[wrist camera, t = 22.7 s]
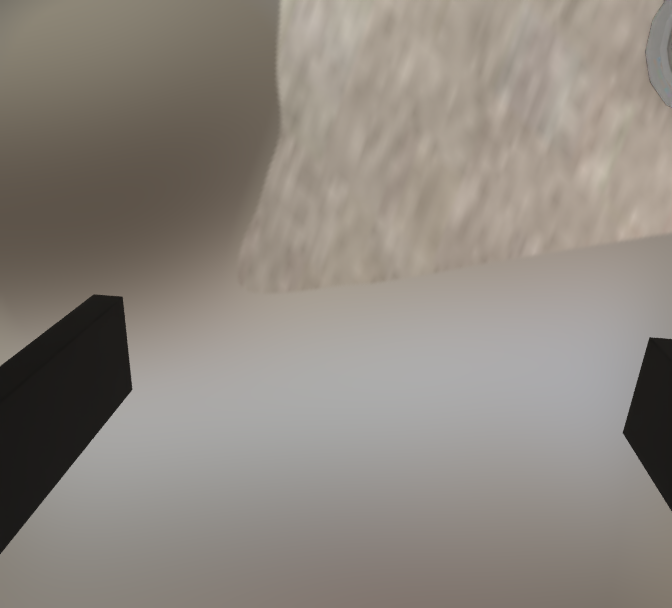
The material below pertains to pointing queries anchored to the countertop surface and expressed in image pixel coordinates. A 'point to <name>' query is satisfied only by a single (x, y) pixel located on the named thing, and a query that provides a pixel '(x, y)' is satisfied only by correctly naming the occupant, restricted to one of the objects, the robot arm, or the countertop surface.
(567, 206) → the countertop surface
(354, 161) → the countertop surface
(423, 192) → the countertop surface
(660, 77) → the french press
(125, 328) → the robot arm
